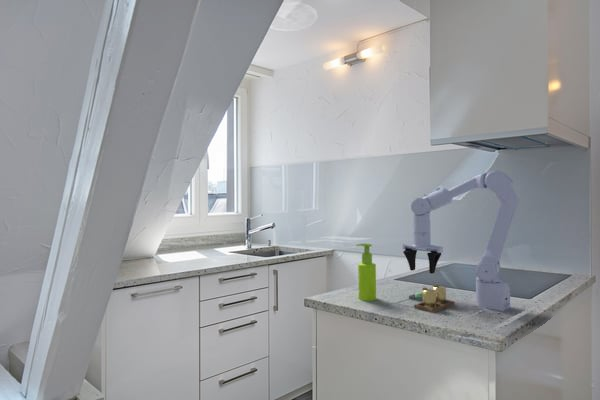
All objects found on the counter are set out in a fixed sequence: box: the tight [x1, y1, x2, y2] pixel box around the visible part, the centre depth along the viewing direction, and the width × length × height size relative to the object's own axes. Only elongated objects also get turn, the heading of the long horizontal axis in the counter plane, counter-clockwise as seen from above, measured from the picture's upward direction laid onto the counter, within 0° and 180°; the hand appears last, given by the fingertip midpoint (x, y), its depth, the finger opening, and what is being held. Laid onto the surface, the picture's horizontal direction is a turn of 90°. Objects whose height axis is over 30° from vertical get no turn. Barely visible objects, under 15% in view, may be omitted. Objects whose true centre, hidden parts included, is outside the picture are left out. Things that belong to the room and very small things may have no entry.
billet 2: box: [432, 283, 447, 304], centre depth 126 cm, size 4×4×7 cm
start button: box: [414, 291, 423, 298], centre depth 134 cm, size 3×3×3 cm
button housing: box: [408, 293, 423, 303], centre depth 134 cm, size 5×5×2 cm
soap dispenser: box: [355, 243, 377, 302], centre depth 135 cm, size 6×7×20 cm
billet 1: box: [421, 287, 436, 308], centre depth 122 cm, size 4×4×7 cm
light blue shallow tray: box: [393, 298, 421, 308], centre depth 128 cm, size 7×8×1 cm
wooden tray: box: [413, 299, 455, 314], centre depth 124 cm, size 8×13×2 cm, turn 131°
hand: (422, 271), depth 137 cm, fingers open, 7 cm apart
